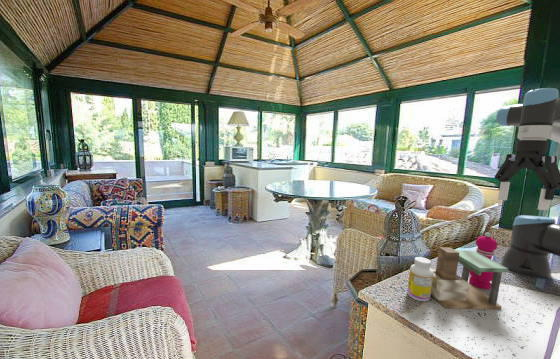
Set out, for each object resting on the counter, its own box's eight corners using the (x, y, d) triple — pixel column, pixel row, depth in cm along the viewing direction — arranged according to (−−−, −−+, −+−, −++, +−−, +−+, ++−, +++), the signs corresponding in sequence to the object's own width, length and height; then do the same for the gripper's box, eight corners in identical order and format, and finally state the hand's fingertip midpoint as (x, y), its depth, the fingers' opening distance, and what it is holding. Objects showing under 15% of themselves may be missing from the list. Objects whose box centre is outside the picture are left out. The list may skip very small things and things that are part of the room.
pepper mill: (496, 291, 89) (506, 237, 86) (473, 288, 90) (482, 234, 87) (484, 281, 96) (493, 230, 93) (463, 278, 97) (471, 228, 94)
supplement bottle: (409, 288, 88) (414, 253, 86) (431, 296, 84) (436, 259, 82) (404, 296, 83) (409, 259, 81) (427, 305, 79) (433, 266, 77)
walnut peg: (433, 288, 87) (439, 247, 85) (444, 288, 87) (450, 247, 85) (441, 295, 83) (447, 252, 81) (452, 295, 83) (459, 252, 81)
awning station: (467, 284, 93) (473, 250, 91) (502, 309, 79) (509, 269, 77) (417, 283, 92) (421, 248, 90) (443, 308, 78) (449, 268, 76)
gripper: (488, 139, 93) (479, 196, 96) (567, 138, 68) (551, 214, 71) (507, 140, 93) (498, 196, 96) (593, 139, 68) (577, 215, 71)
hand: (521, 204), depth 84 cm, fingers open, 13 cm apart
